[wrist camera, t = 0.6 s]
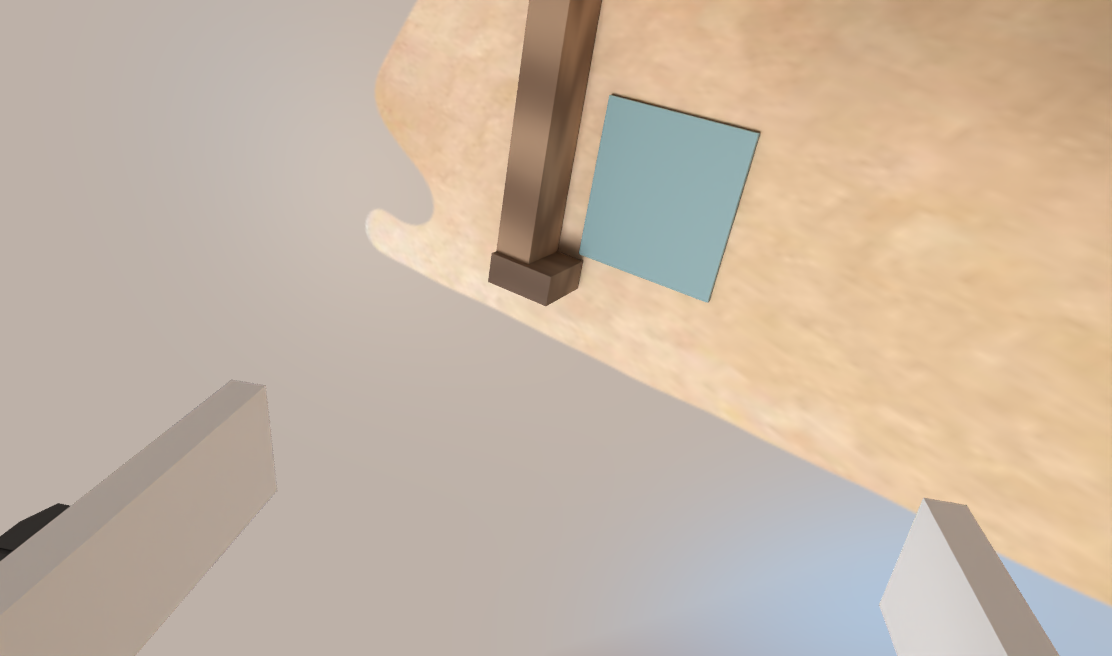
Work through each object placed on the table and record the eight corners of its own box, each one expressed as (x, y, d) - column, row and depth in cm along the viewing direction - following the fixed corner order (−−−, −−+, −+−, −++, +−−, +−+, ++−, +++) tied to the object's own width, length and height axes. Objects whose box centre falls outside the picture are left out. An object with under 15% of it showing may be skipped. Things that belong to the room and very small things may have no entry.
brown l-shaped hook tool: (587, -160, 34) (547, -183, 31) (665, -154, 33) (630, -177, 30) (522, 266, 46) (488, 281, 43) (577, 288, 44) (545, 306, 41)
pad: (611, 94, 38) (609, 95, 38) (760, 133, 35) (758, 133, 35) (581, 252, 43) (578, 254, 43) (709, 301, 39) (707, 302, 39)
